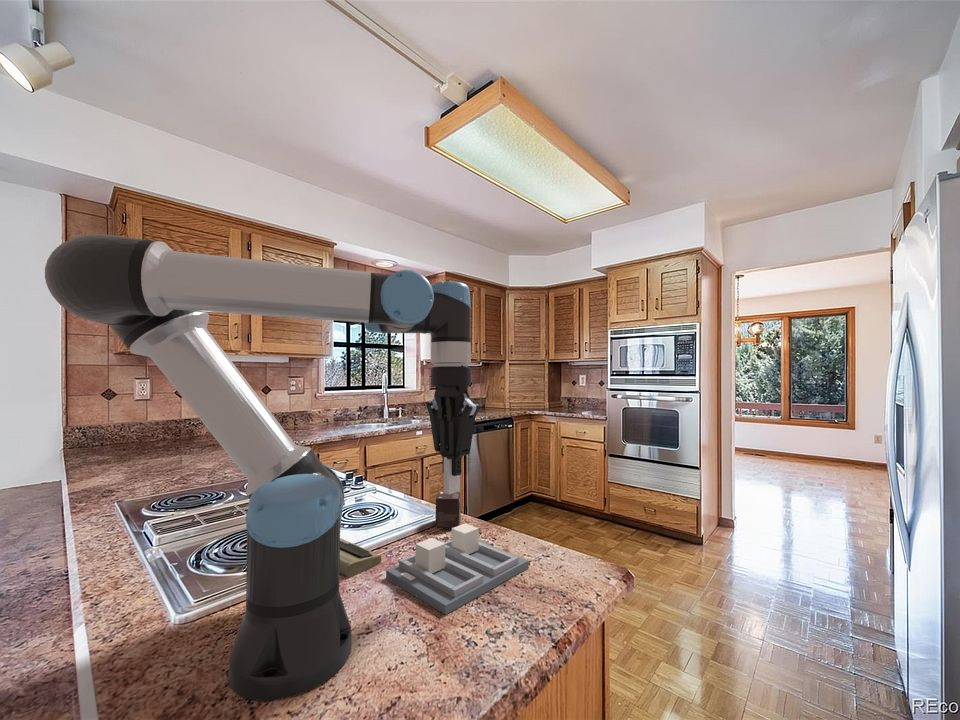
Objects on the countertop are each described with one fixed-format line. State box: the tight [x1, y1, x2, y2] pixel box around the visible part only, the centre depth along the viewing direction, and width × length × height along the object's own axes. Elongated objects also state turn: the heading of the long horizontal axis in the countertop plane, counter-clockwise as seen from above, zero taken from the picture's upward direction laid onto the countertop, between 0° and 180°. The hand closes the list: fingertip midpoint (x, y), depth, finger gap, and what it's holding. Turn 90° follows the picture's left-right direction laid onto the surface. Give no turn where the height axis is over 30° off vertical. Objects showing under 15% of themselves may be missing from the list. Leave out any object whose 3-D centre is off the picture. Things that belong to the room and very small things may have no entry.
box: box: [435, 491, 462, 528], centre depth 106 cm, size 6×6×7 cm
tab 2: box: [451, 523, 480, 555], centre depth 86 cm, size 4×4×4 cm
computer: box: [339, 537, 382, 579], centre depth 86 cm, size 16×8×3 cm, turn 53°
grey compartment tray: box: [385, 539, 530, 615], centre depth 80 cm, size 22×17×3 cm
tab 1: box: [415, 537, 445, 574], centre depth 78 cm, size 4×4×4 cm
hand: (452, 491), depth 77 cm, fingers closed
